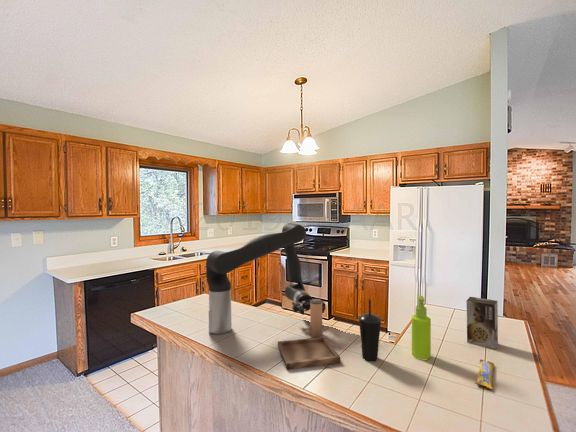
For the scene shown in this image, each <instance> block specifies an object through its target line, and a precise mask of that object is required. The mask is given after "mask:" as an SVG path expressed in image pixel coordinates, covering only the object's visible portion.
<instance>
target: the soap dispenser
mask: <svg viewBox="0 0 576 432" xmlns="http://www.w3.org/2000/svg"><path fill="white" fill-rule="evenodd" d="M416 298H417V300H418V302H417V304H418V305H417V306H415V314H414V315H412V316H411V355H413V356H414V357H413V356H412V357H413V358H415V357H416V358H415V359H417V358H420V359H429V358H430V357H431V358H432V356H431V355H432V351H431V350H432V349H431V348H432V346H431V345H432V342H431V340H432V339H431V333H432V326H431V325H432V324H431V322H432V321H431V317H430V316H427V307H426V306H425V297H424V296H423V295H417V296H416ZM431 358H430V359H431ZM420 359H419V360H420ZM430 359H429V360H430Z"/></svg>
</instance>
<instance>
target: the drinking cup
mask: <svg viewBox="0 0 576 432" xmlns="http://www.w3.org/2000/svg"><path fill="white" fill-rule="evenodd" d="M371 304H372V299H371V298H368V313H363V314H360V315H358V317H357V319H358V321H359V334H360V344H361V346H360V347H361V354H362V355H361V356H362V359H363V360H364V359H365V360H364V361H366V362H369V361H374V362H377V360H378V356H379V355H378V354H379V347H380V345H379V344H380V343H379V342H380V333H381V325H382V317H380V316H379V315H377V314H374V313H371V312H372V311H371V309H372V308H371V307H372V305H371Z"/></svg>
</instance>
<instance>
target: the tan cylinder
mask: <svg viewBox="0 0 576 432" xmlns="http://www.w3.org/2000/svg"><path fill="white" fill-rule="evenodd" d="M321 301H322V299H320V298H312V300H311V302H310V310H309V311H310V313H309V316H310V321H309V322H310V324H309V325H310V327H309V328H310V329H309V330H310V336H311V338H319V337H323V313H322V302H323V301H322V302H321Z"/></svg>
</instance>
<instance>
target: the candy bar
mask: <svg viewBox="0 0 576 432" xmlns="http://www.w3.org/2000/svg"><path fill="white" fill-rule="evenodd" d="M479 363H480V365H479V371H478V374H477V378H476V382H474V384H476V385H478V384H479V386H483V387H485V386H486V388H487V389H490V390H493V375H492V374H493V373H494V367H495V363H494V362H492V361H489V360H487V361H485V360H484V359H480V360H479Z"/></svg>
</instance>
